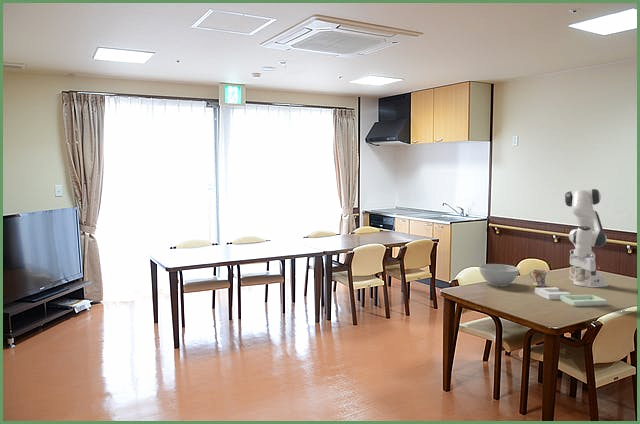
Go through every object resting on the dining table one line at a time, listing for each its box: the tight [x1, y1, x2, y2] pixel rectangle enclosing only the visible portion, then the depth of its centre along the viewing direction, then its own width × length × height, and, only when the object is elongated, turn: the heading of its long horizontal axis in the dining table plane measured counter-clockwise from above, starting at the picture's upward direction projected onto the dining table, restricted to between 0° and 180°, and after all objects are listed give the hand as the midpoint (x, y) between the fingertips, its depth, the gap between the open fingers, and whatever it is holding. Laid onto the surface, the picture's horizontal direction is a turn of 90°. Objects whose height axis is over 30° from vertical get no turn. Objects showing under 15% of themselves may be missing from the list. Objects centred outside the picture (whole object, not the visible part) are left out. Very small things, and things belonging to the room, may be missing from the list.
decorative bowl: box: [478, 263, 520, 288], centre depth 361 cm, size 27×27×12 cm
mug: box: [529, 269, 548, 288], centre depth 359 cm, size 12×9×11 cm
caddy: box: [568, 266, 597, 282], centre depth 315 cm, size 15×6×8 cm, turn 98°
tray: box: [559, 294, 608, 307], centre depth 317 cm, size 22×14×3 cm, turn 98°
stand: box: [534, 286, 571, 301], centre depth 332 cm, size 15×16×4 cm
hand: (581, 275), depth 315 cm, fingers closed on caddy, 6 cm apart
